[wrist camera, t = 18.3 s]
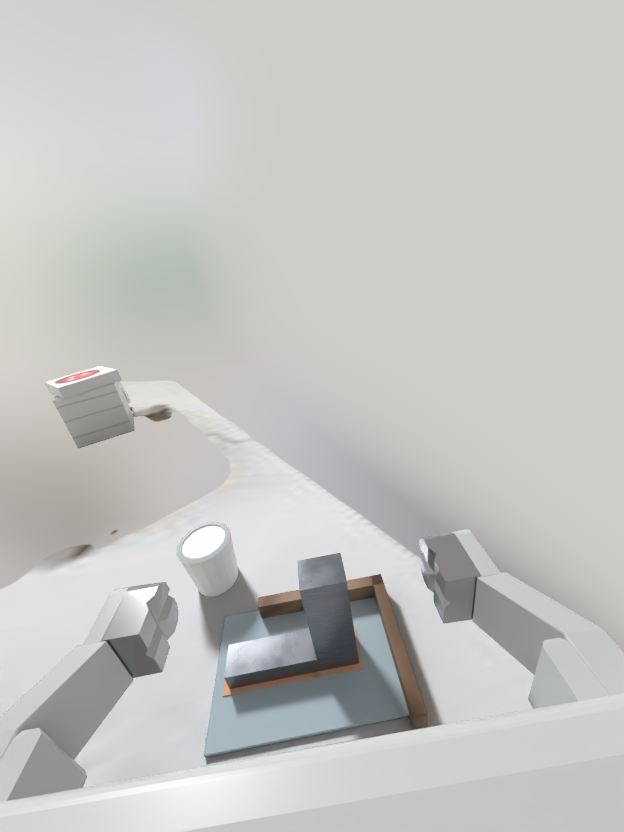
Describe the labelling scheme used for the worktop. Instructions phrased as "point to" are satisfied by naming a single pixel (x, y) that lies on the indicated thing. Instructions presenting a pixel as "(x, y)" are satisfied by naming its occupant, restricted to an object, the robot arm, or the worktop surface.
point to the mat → (304, 687)
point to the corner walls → (376, 588)
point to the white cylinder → (209, 558)
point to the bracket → (303, 632)
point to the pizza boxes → (92, 405)
